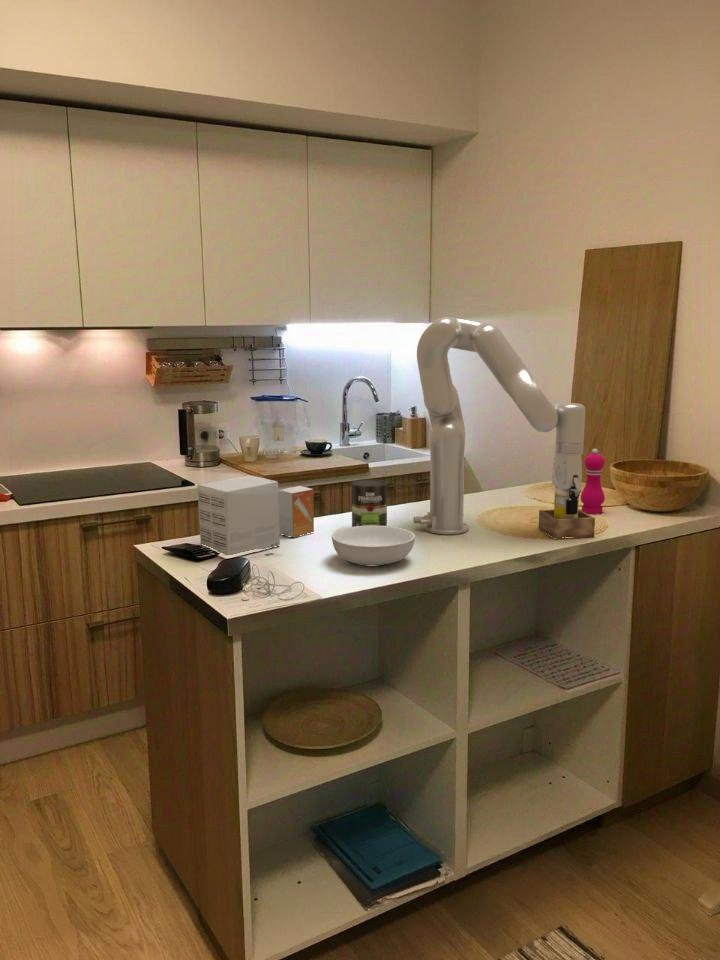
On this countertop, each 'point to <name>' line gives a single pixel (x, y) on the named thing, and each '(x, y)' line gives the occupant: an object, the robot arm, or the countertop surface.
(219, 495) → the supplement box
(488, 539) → the countertop surface
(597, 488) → the pepper mill
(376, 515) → the coffee can
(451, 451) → the robot arm
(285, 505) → the small box
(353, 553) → the serving bowl
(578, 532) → the crate
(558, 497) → the supplement bottle
